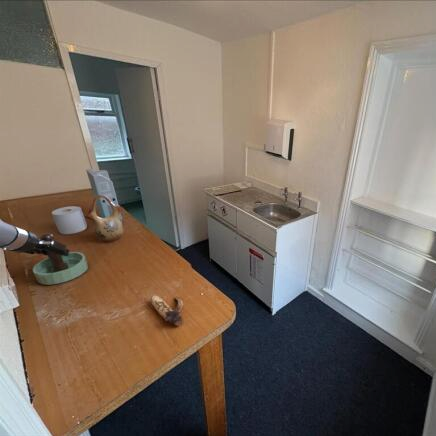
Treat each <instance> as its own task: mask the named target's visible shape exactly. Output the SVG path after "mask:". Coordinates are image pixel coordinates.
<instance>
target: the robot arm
mask: <svg viewBox="0 0 436 436" xmlns="http://www.w3.org/2000/svg"><path fill="white" fill-rule="evenodd" d="M0 249H1V250H2V251H10V252H13V253H23V254H29V255H36V254H37V255H43V256H47V257H48V255H47V253H46V251H45V250H48V251H52V252H56V254H60V255H63V256H68V254H69V252H70V249H68V248H67V245H65V244H63V243H61V242H58V241H56V240H53V239H52V240H49V242H46V241H44V240H40V238H39V237H38V236H37V235H36V234H35V233H34V232H31V231H29V230H26V229H23V228H21V227H19V226H16V225H12V224H10V223H7V222H4V221H3V220H2V219H1V218H0Z"/></svg>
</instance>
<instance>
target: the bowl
mask: <svg viewBox="0 0 436 436" xmlns="http://www.w3.org/2000/svg"><path fill="white" fill-rule="evenodd" d="M61 256H62V259H63V261H64V263H67V264H68V267H69V268H68V269H65V270H62V271H59V272H55V273H52V271H51V269H50V268H51V267H52V264H51V262H50V260H49V257H47V258H44V259H42V260H41V261H39V262H38V263H36V264H35V265H34V266H33V267H32V272H33V274H34V277H35V278H36V281H37V282H38V284H40V285H48V286H49V285H50V286H51V285H57V284H62V283H65V282H66V283H67V282H69V281H71V280H74V279H76V278H77V277H80V276H81V275H82V274H84V273H85V272H86V271H87V270H88V269H89V264H88V261H87V257H86V255H85V254H84V253H82V252H79V251H69V254H68V256H63V255H61Z"/></svg>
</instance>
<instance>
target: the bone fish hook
mask: <svg viewBox="0 0 436 436" xmlns="http://www.w3.org/2000/svg"><path fill="white" fill-rule="evenodd" d="M174 300H175V301H176V302H177V306H176V307H175V308H174V309H173V308H171V306H170V305H169V304H168V303H166V302H165V301H164V299H162V298H161V297H159V295H157V294H154V295H152V296H151V297H150V303H151V305H152V306H153V307H154V309H155V310H156V311H157V313H158V314H159V315H160V316H161V317H162V318H163V319H164V322H167V323H169V324H171V325H172V324H173V325H174V326H175V327H179V326H181V325H182V322H183V320H182V317H183V316H182V315H180V313H181V312H182V311H183V308H184V302H183V300H182V299H180V298H179V297H174Z"/></svg>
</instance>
